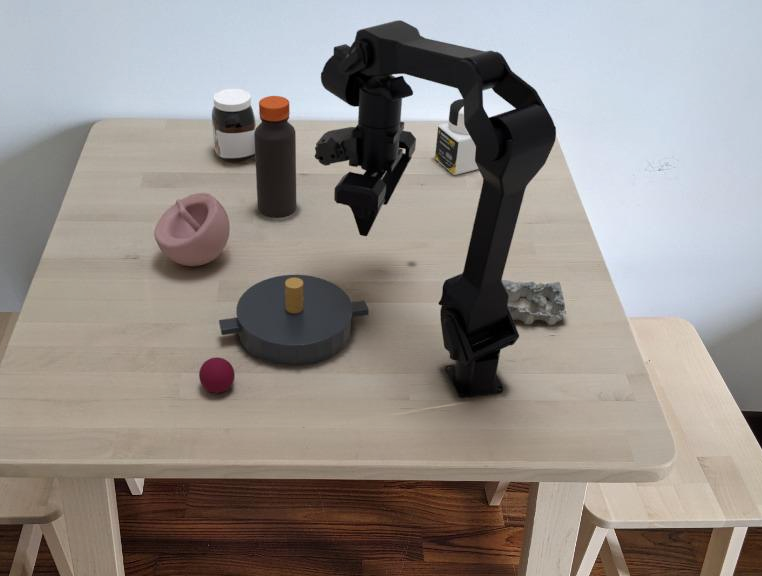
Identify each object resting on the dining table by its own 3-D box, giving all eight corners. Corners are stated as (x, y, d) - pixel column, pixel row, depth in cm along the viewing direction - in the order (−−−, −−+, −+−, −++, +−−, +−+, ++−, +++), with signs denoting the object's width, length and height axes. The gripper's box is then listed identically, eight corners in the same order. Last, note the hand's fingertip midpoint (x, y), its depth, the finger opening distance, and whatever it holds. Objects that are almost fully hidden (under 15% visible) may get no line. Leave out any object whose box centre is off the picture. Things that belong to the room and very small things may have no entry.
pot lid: (365, 341, 127) (367, 310, 124) (247, 358, 125) (245, 326, 121) (336, 274, 140) (337, 243, 136) (228, 288, 137) (226, 257, 133)
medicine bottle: (434, 159, 173) (440, 99, 165) (465, 151, 176) (473, 92, 168) (453, 176, 169) (461, 115, 161) (486, 168, 171) (495, 107, 163)
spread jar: (210, 145, 178) (205, 88, 170) (266, 137, 180) (264, 80, 172) (224, 174, 169) (220, 115, 161) (283, 165, 172) (281, 107, 164)
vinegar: (302, 216, 158) (301, 107, 145) (265, 223, 156) (261, 114, 143) (288, 197, 163) (286, 90, 150) (252, 204, 161) (247, 96, 148)
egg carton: (490, 326, 135) (494, 304, 133) (488, 296, 141) (491, 274, 138) (563, 330, 134) (568, 308, 132) (558, 300, 140) (563, 278, 137)
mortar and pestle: (150, 247, 151) (142, 186, 143) (219, 233, 154) (215, 173, 147) (168, 287, 143) (160, 224, 135) (241, 271, 146) (237, 209, 138)
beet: (244, 383, 122) (217, 365, 120) (219, 405, 124) (193, 388, 121) (239, 362, 126) (213, 344, 123) (216, 384, 128) (190, 367, 125)
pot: (381, 356, 130) (382, 335, 128) (230, 378, 127) (228, 357, 124) (352, 290, 142) (353, 269, 139) (213, 308, 139) (211, 287, 136)
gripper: (346, 82, 131) (343, 179, 142) (298, 139, 118) (298, 241, 129) (420, 94, 128) (412, 192, 139) (379, 154, 115) (373, 257, 126)
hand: (373, 219), depth 133 cm, fingers open, 9 cm apart
